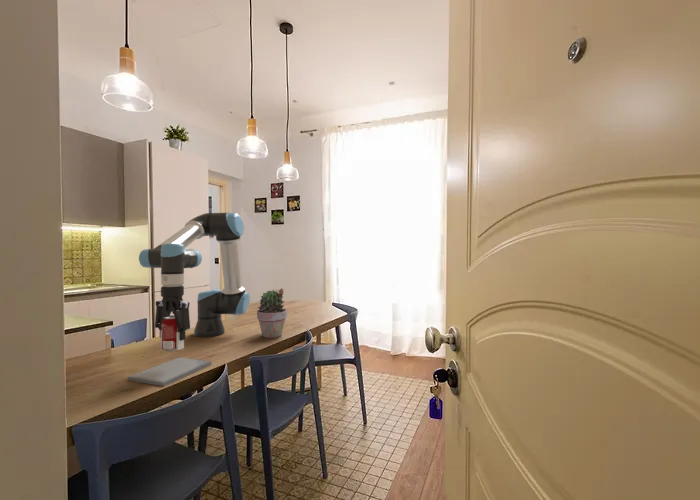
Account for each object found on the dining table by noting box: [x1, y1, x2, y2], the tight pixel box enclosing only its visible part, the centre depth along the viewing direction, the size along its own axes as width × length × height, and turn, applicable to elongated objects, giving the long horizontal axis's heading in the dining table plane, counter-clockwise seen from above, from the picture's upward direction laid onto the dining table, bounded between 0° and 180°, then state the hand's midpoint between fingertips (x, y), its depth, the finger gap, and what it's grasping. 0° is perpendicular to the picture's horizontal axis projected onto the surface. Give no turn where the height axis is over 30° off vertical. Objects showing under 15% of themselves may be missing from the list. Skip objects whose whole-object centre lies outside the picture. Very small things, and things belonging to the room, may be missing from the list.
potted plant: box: [253, 288, 288, 339], centre depth 175 cm, size 18×20×25 cm
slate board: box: [127, 356, 212, 387], centre depth 123 cm, size 22×16×1 cm
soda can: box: [161, 314, 182, 352], centre depth 122 cm, size 7×7×12 cm
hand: (172, 347), depth 122 cm, fingers closed on soda can, 7 cm apart
